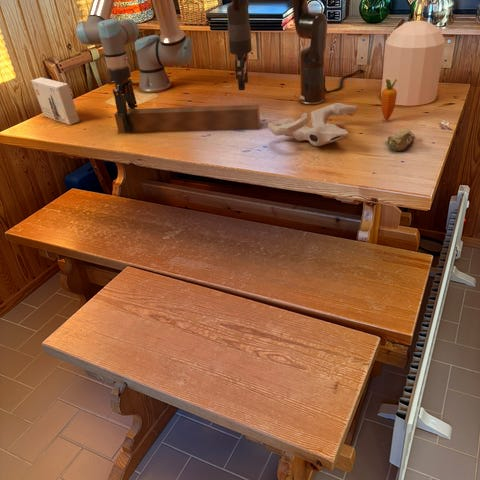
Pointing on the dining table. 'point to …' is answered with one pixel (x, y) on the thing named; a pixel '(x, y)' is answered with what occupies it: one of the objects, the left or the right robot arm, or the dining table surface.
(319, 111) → the animal horns
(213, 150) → the dining table surface
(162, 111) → the beam
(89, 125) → the dining table surface
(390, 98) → the carrot
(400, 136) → the rock
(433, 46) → the container
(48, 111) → the skincare box
